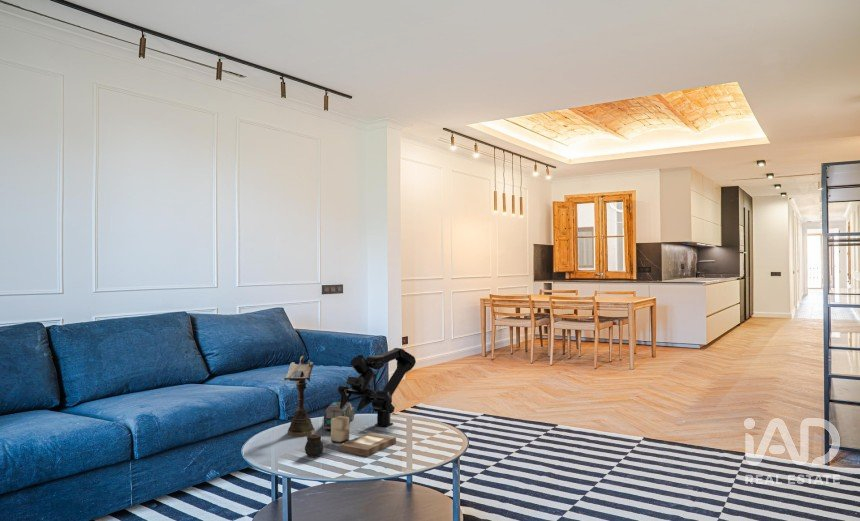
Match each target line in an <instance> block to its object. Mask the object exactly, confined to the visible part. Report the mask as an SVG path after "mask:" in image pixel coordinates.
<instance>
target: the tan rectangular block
mask: <svg viewBox="0 0 860 521" xmlns="http://www.w3.org/2000/svg"><path fill="white" fill-rule="evenodd" d="M330 441H331V442H332V443H334V444H339V445H340V444H342V443H344V442H347V441H350V422H349V417H344V416H338V417H335V418H332V419H331V429H330Z"/></svg>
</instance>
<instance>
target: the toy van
mask: <svg viewBox="0 0 860 521" xmlns="http://www.w3.org/2000/svg"><path fill="white" fill-rule="evenodd" d="M340 403H341V401H335V402H334V401H333V402H332V403H331V404H330V405H329V406H328V407H327V408H326V409H325V411H324V413H323V414H324V415H323V420H322V421H323V427H322V428H323V429H324V430H331V419H332V418H335V417H338V416H344V417H349V423H351V421H354V420H355V415H356V413H355V407H354V406H353V405H352V403H351V402H350V401H348V402H347V403H346V404H345V406H344V407H343V408H342V409H341V408H340Z"/></svg>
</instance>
